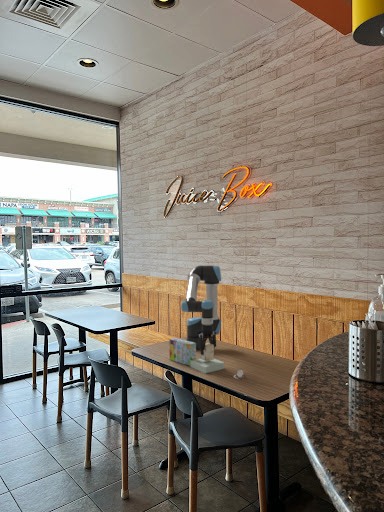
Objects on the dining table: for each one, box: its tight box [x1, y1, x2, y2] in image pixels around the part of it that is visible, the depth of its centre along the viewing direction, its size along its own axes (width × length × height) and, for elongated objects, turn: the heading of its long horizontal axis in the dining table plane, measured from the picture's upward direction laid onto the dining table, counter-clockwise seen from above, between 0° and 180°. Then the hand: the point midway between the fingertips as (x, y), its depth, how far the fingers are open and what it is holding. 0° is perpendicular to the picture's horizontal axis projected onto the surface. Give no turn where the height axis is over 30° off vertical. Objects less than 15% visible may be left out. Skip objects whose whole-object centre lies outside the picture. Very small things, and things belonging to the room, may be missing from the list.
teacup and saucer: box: [233, 369, 244, 380], centre depth 244 cm, size 9×8×4 cm
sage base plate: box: [190, 358, 225, 374], centre depth 261 cm, size 16×16×4 cm
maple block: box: [200, 342, 215, 361], centre depth 260 cm, size 6×6×10 cm
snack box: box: [169, 337, 197, 367], centre depth 272 cm, size 21×6×15 cm, turn 47°
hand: (207, 358), depth 261 cm, fingers closed on maple block, 6 cm apart
